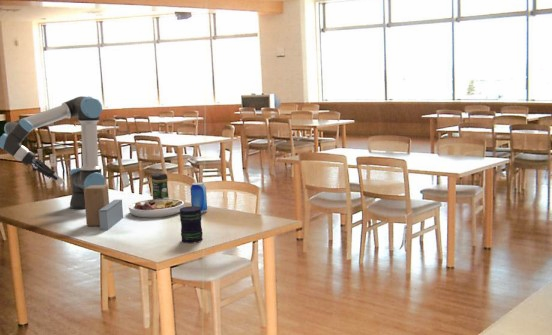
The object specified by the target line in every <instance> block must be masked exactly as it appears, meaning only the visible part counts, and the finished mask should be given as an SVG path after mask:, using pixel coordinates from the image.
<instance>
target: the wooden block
mask: <svg viewBox="0 0 552 335" xmlns="http://www.w3.org/2000/svg"><path fill="white" fill-rule="evenodd" d="M109 197H110V196H109V187H108V185H107V184H104V185H90V186H88V187H86V188H85V189H84V199H85V209H84V211H85V220H86V221H85V222H86V226H87V227H100V219H99V210H100V209H102V208H103V207H104V206H106V205H107V204H109V203H110V198H109Z"/></svg>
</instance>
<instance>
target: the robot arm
mask: <svg viewBox="0 0 552 335" xmlns="http://www.w3.org/2000/svg"><path fill="white" fill-rule="evenodd" d="M102 113H103V105H102V102H101V101H100V100H99V99H98V98H96V97H94V96H89V95H88V96H83V95H82V96H77V97H75V98H73V99H69V100H67V101H64V102H62V103H61V105H58V106H55V107H53V108H50V109H46V110H44V111H43V110H42V111H41V112H38V113H34V114H31V115H30V116H29V115H28V116H26V117H23V118H21V119H17V120H14V121H9V122H6V123H5V124H4V127H3V131H4V133H2V135H1V136H0V149H2V150H3V151H4V152H6V153H7V154H9V155H10V156H11V157H13V158H14V159H15V160H18V161H19V162H21V163H22V164H23V165H24V166H29V165H30V166H31V167H32V169H33V170H35V171H37V172H39V173H40V174H42V175H44V176H46V177H47V178H48V179H52V180H54V181H55V182H57V183H58V184H59V185H62V184H63V183H64V182H65V179H63V178H62V177H61V176H59V175H58V174H57V173H56V171H55V170H53V169H52V168H51V167H49V166H48V165H47V164H45V163H44V161H43V160H41V159H37V158H35V157H36V154H35V153H34V152H32V151H31V150H29V148H27V147H26V146H24V145H22V144H21V143H23V141H24V140H25V139H26V138H27V137H28V135H29V134H30V133H31V132H32V131H33V130H35V129H38V128H41V127H44V126H47V125H50V124H53V123H55V122H58V121H61V120H65V119H69V120H70V119H73V118H77V121H78V122H79V123H80V129H81V131H80V132H81V133H80V134H81V152H82V154H81V157H82V158H81V159H82V166H81V167H78V168H72V169H71V170H70V173H69V174H70V175H69V176H70V184H71V185H70V186H71V197H70V198H71V199H70V202H69V207H70V209H73V210H82V209H84V210H85V199H84V189H85V188H86V187H88V186H90V185H106V179H105V176H104V175H103V174H102V167H101V166H100V165H99V149H98V148H99V147H98V146H99V144H98V123H99V122H100V115H101V114H102Z"/></svg>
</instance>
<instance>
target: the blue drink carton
mask: <svg viewBox="0 0 552 335" xmlns="http://www.w3.org/2000/svg"><path fill="white" fill-rule="evenodd" d="M207 199H208V197H207V186H206V184H205V183H204V182H200V181H199V182H192V183H191V186H190V200H191V201H190V202H191V206H197V207H201V214H204V213H206V212H207V210H208V200H207ZM203 212H204V213H203Z"/></svg>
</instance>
